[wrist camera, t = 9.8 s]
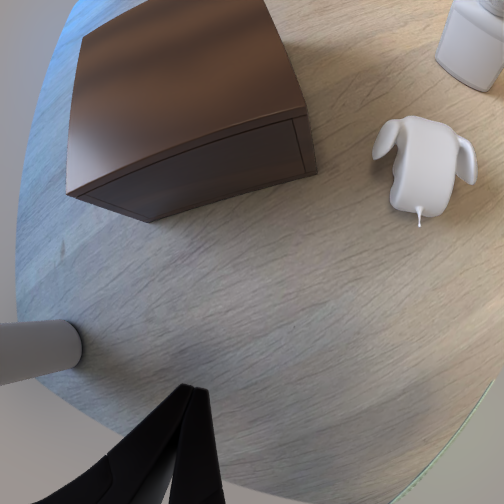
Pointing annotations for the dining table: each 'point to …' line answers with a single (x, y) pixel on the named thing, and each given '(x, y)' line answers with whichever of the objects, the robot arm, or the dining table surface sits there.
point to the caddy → (212, 172)
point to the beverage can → (37, 349)
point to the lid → (174, 85)
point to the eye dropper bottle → (473, 42)
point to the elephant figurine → (425, 163)
